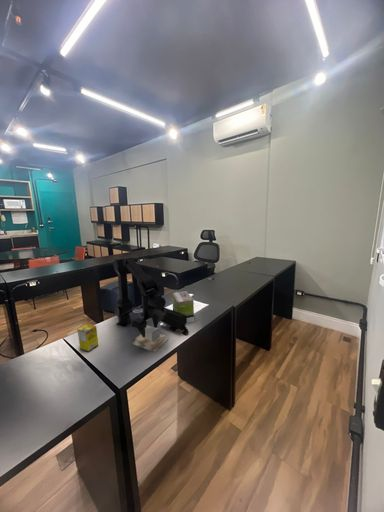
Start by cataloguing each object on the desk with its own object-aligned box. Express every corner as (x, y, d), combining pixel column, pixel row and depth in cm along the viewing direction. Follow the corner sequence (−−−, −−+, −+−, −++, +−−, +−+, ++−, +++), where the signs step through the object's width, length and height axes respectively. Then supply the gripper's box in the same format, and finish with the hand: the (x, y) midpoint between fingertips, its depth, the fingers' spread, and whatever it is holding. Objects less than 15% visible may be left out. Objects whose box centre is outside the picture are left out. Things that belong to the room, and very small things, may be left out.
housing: (140, 337, 107) (140, 330, 106) (147, 332, 111) (146, 325, 110) (153, 341, 103) (153, 334, 102) (159, 336, 108) (159, 329, 107)
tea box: (172, 314, 138) (171, 292, 135) (187, 311, 140) (186, 290, 137) (178, 325, 123) (177, 301, 120) (194, 322, 126) (194, 299, 123)
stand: (132, 344, 106) (132, 338, 106) (146, 333, 116) (146, 328, 115) (155, 352, 100) (154, 346, 99) (168, 340, 109) (168, 334, 109)
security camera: (183, 337, 111) (182, 320, 109) (158, 327, 122) (157, 310, 120) (191, 331, 117) (191, 315, 114) (166, 322, 127) (166, 306, 125)
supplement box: (98, 345, 106) (96, 325, 103) (88, 352, 100) (85, 331, 98) (90, 342, 108) (87, 323, 106) (79, 349, 103) (77, 328, 101)
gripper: (149, 314, 92) (150, 347, 95) (172, 299, 108) (173, 327, 111) (129, 309, 97) (132, 340, 100) (155, 295, 113) (156, 322, 116)
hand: (149, 332), depth 107 cm, fingers open, 9 cm apart
